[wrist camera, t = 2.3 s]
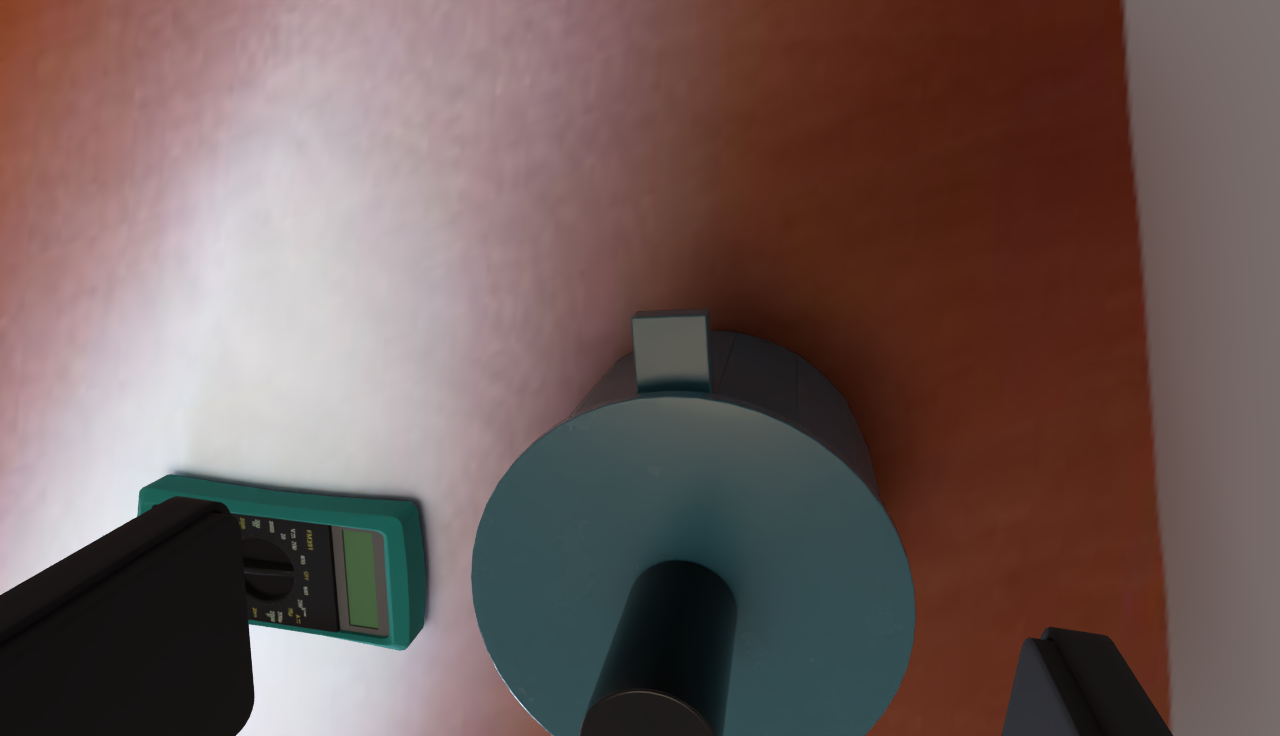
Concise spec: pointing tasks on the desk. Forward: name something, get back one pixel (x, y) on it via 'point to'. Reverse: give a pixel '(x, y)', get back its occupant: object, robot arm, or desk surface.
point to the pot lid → (692, 576)
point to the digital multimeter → (321, 559)
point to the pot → (732, 377)
